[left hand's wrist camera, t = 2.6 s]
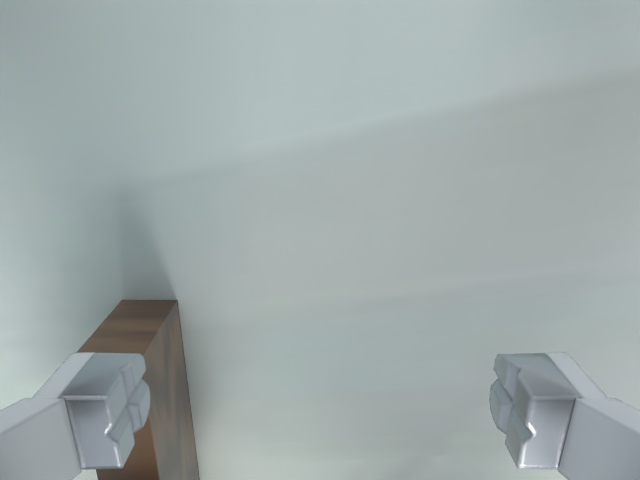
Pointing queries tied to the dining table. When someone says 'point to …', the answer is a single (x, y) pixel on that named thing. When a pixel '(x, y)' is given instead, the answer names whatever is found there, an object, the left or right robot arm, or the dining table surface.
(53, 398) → the left robot arm
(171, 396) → the bar
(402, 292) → the dining table surface
